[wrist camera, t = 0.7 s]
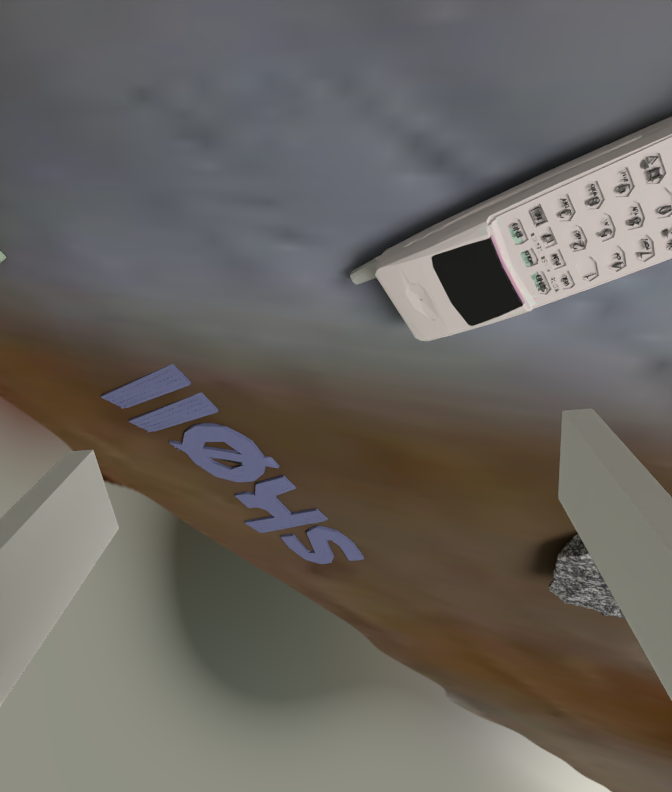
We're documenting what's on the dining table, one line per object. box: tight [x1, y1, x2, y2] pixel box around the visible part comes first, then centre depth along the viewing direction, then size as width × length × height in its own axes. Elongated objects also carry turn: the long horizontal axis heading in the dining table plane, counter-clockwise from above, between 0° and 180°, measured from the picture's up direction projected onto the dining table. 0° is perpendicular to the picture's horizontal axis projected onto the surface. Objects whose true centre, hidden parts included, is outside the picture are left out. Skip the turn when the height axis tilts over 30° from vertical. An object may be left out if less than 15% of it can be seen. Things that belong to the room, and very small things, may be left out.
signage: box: [101, 364, 364, 564], centre depth 52 cm, size 28×1×10 cm
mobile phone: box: [350, 117, 672, 341], centre depth 25 cm, size 6×6×25 cm
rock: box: [549, 534, 625, 618], centre depth 44 cm, size 8×10×4 cm
